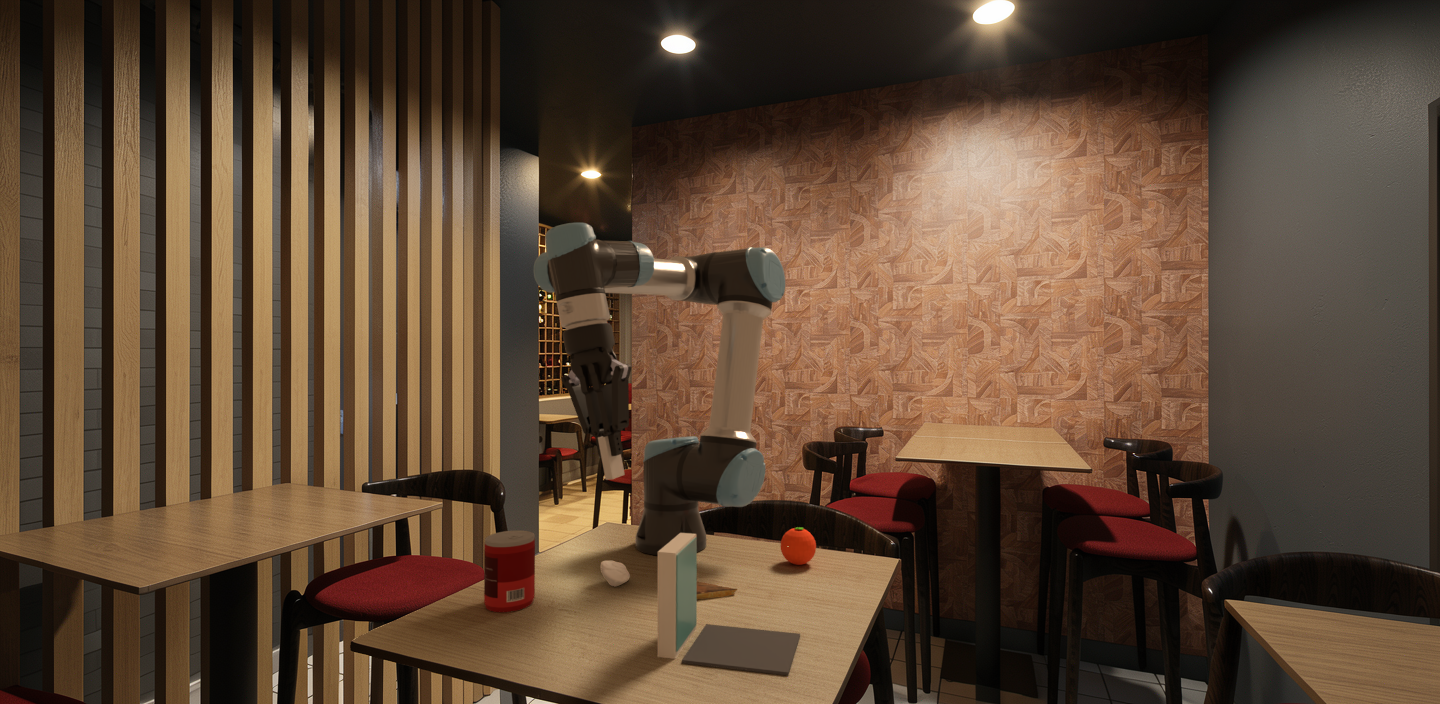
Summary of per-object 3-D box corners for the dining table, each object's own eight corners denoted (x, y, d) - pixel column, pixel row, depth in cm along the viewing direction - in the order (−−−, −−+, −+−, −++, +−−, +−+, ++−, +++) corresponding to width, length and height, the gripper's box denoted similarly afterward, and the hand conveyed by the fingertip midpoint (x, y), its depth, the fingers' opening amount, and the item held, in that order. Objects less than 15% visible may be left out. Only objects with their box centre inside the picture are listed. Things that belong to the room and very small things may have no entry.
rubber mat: (706, 626, 97) (706, 624, 97) (800, 636, 93) (800, 633, 93) (682, 663, 85) (682, 659, 85) (788, 675, 82) (788, 672, 82)
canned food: (543, 597, 109) (543, 531, 109) (516, 615, 101) (516, 544, 101) (503, 593, 111) (504, 528, 111) (473, 610, 103) (474, 541, 103)
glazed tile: (680, 627, 97) (680, 532, 97) (697, 629, 96) (697, 533, 96) (657, 656, 87) (657, 551, 87) (676, 659, 86) (676, 553, 87)
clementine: (785, 555, 132) (785, 520, 132) (819, 559, 130) (819, 523, 130) (776, 567, 125) (776, 530, 125) (812, 571, 123) (812, 533, 123)
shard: (737, 597, 110) (737, 586, 110) (716, 612, 104) (716, 601, 104) (682, 586, 115) (682, 576, 115) (659, 600, 109) (659, 590, 109)
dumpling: (598, 579, 118) (598, 558, 118) (627, 577, 119) (627, 555, 119) (603, 593, 111) (603, 569, 111) (633, 589, 113) (633, 566, 113)
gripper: (539, 335, 100) (567, 485, 100) (599, 319, 93) (630, 481, 93) (574, 331, 106) (601, 473, 106) (634, 316, 99) (663, 468, 99)
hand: (615, 477), depth 99 cm, fingers closed
